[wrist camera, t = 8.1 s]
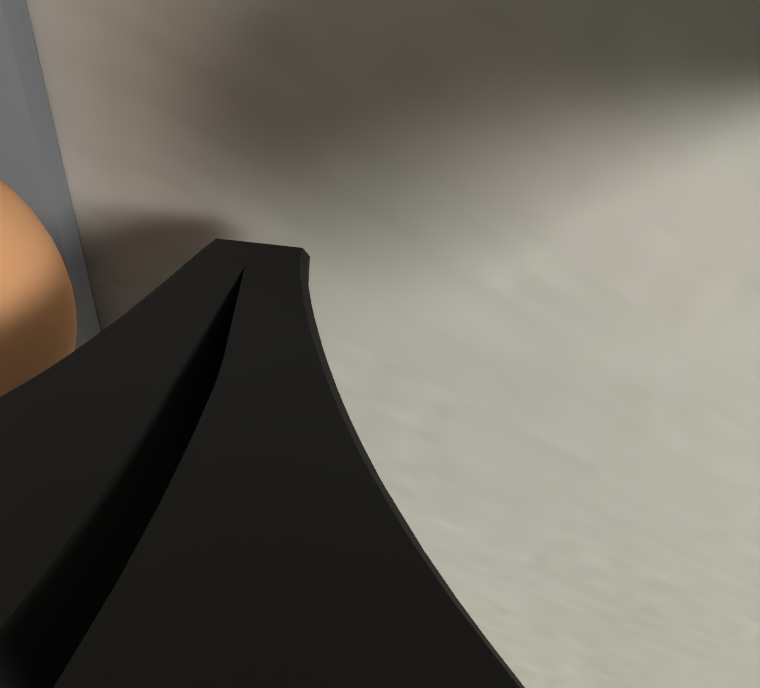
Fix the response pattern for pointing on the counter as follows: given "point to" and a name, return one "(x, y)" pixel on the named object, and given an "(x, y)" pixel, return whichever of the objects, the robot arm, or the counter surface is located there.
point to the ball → (31, 296)
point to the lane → (38, 154)
